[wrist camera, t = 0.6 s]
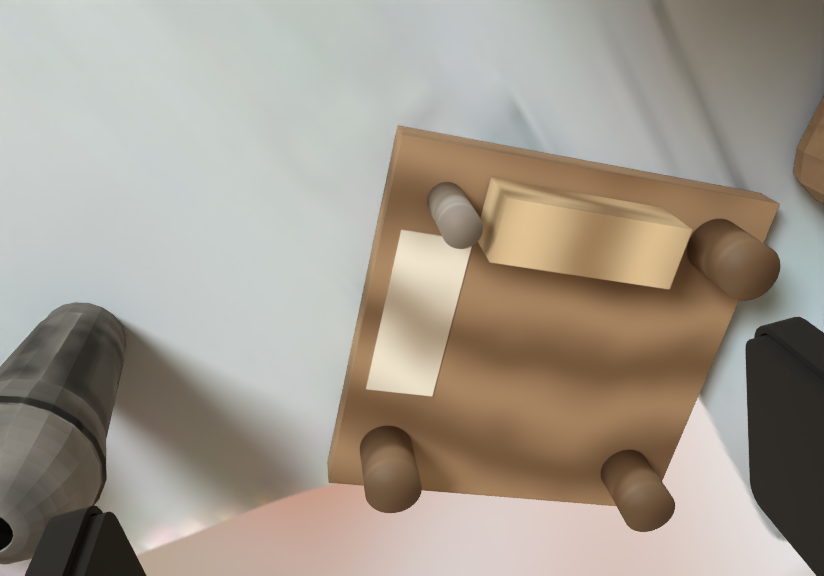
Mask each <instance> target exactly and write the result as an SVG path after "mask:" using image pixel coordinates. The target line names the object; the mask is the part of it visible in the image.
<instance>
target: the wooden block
mask: <svg viewBox="0 0 824 576" xmlns="http://www.w3.org/2000/svg"><path fill="white" fill-rule="evenodd" d="M793 173H794V175H795V176H796V178H797V179H798V181H799V182H800V183H801V184H802V185H803V186H804V187H805V188H806V190H807V191H808V192H809V193H810V194H811V195H812V196H813V197H814V198H815V199H816V200H817V201H819V202H821V203H823V204H824V96H823V98H822V100H821V102H820V104H819V106H818V107H817V109H816V111H815V113H814V115H813V117H812V119H811V121H810V123H809V125H808V127H807V129H806V131H805V133H804V135H803V137H802V139H801V141H800V143H799V145H798V146H797V149H796V156H795V162H794V168H793Z"/></svg>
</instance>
